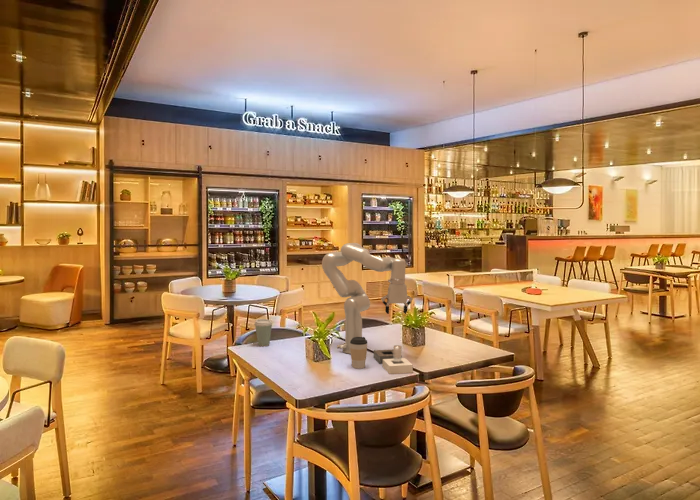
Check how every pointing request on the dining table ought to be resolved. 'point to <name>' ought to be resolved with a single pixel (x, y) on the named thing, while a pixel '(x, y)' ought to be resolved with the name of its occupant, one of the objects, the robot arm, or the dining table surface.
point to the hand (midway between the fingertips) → (396, 313)
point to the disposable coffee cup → (263, 331)
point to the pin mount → (383, 355)
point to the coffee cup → (358, 352)
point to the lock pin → (397, 354)
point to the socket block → (397, 366)
